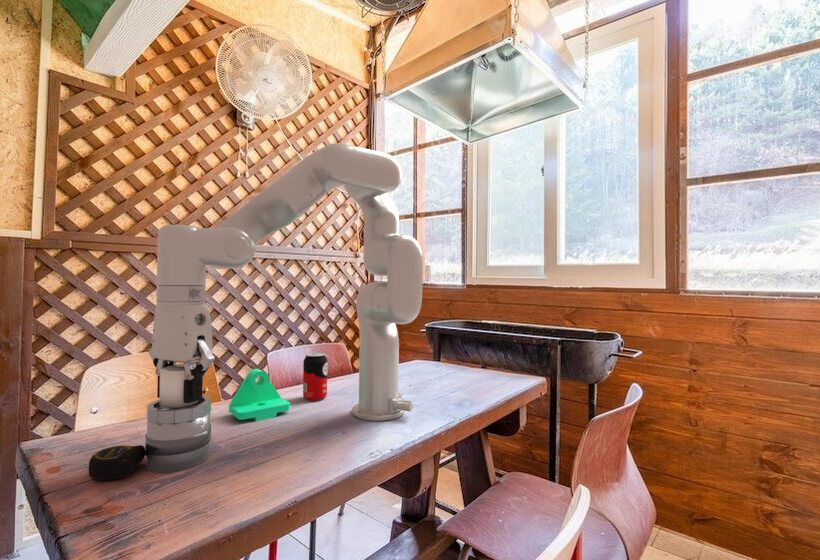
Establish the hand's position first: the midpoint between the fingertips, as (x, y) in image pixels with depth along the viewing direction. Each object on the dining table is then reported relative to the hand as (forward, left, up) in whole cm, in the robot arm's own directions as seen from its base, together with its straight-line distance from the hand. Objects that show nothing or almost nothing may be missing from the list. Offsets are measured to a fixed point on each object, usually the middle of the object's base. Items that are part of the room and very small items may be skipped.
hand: (179, 397), depth 71 cm
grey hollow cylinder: (0, 0, -11) cm, 11 cm away
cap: (0, 0, -1) cm, 1 cm away
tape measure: (+4, +7, -11) cm, 14 cm away
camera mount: (+5, -25, -11) cm, 28 cm away
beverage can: (+2, -41, -11) cm, 43 cm away
